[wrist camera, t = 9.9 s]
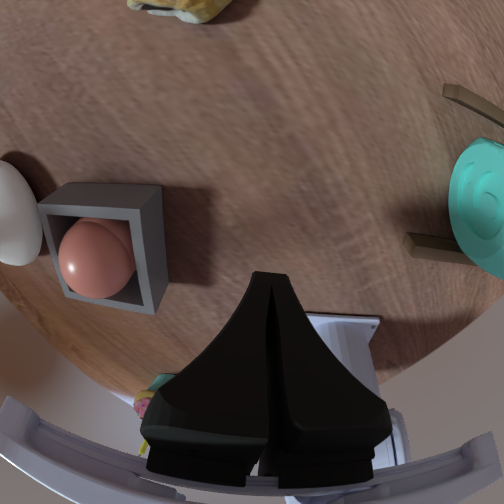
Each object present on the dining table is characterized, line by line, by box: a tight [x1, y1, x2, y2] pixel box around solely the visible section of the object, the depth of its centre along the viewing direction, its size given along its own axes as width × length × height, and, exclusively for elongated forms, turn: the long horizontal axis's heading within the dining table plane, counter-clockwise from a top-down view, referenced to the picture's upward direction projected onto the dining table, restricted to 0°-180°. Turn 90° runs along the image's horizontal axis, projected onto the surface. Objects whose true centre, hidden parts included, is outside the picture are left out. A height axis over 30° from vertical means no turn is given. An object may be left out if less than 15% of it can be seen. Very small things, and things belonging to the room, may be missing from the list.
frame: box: [403, 83, 504, 266], centre depth 16 cm, size 13×12×2 cm
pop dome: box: [58, 217, 136, 299], centre depth 19 cm, size 6×6×6 cm
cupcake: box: [133, 374, 175, 457], centre depth 29 cm, size 9×8×12 cm
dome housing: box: [37, 183, 169, 315], centre depth 20 cm, size 9×9×4 cm
